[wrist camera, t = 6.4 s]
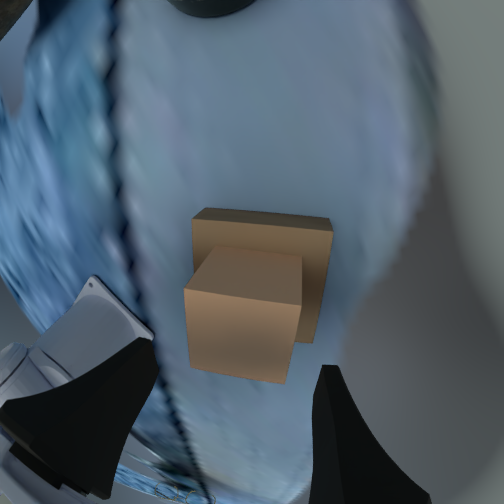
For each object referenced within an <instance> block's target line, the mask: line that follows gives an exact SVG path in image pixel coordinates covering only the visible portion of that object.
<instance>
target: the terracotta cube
mask: <svg viewBox="0 0 504 504" xmlns="http://www.w3.org/2000/svg"><path fill="white" fill-rule="evenodd" d="M184 300H185V314H186V326H187V338H188V348H189V358H190V367H191V368H195V369H200V370H204V371H209V372H214V373H218V374H224V375H229V376H234V377H240V378H246V379H252V380H258V381H265V382H272V383H280V384H285V381H286V376H287V372H288V368H289V364H290V359H291V355H292V350H293V346H294V341H295V336H296V332H297V327H298V322H299V317H300V312H301V307H302V256H295V255H287V254H279V253H271V252H263V251H255V250H247V249H239V248H231V247H223V246H215V247H214V248H213V249H212V251H211V252H210V253H209V255H208V256H207V257H206V259H205V260H204V261H203V263H202V264H201V266H200V267H199V268H198V270H197V271H196V272H195V274H194V275H193V276H192V278H191V279H190V280H189V282H188V283H187V285H186V286H185V287H184Z"/></svg>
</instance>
